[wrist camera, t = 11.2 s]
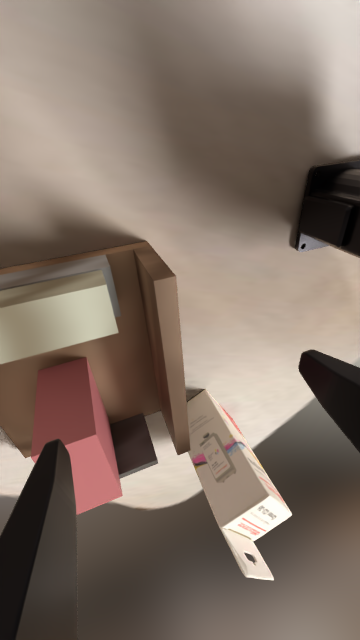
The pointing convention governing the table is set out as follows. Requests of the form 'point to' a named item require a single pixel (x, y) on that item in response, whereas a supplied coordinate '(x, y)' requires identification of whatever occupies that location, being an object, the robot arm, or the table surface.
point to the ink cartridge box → (233, 482)
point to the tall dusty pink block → (77, 430)
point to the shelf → (97, 343)
